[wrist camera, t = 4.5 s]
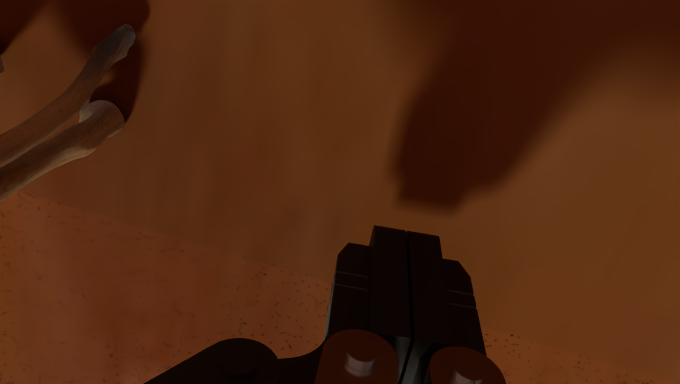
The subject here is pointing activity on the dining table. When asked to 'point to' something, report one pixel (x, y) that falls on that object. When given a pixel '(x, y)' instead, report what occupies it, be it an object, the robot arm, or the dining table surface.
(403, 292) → the robot arm
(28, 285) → the dining table surface
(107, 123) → the lion figurine
